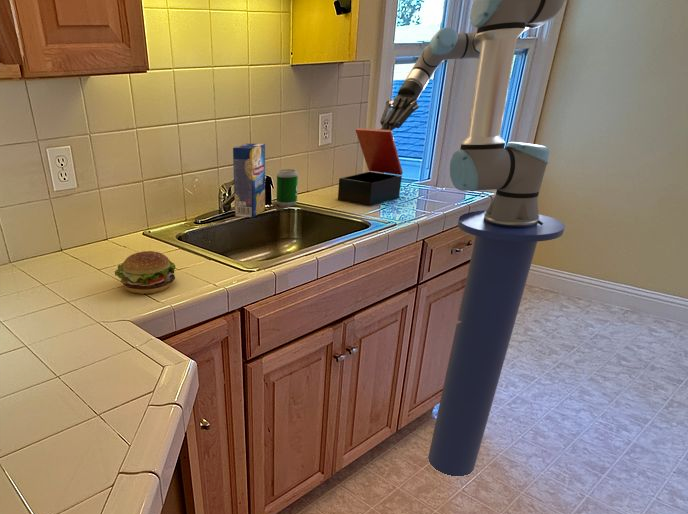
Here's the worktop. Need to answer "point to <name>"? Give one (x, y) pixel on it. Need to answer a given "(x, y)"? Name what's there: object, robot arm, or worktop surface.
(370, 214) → the worktop surface
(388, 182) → the black open box
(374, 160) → the lid
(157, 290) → the food
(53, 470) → the worktop surface
